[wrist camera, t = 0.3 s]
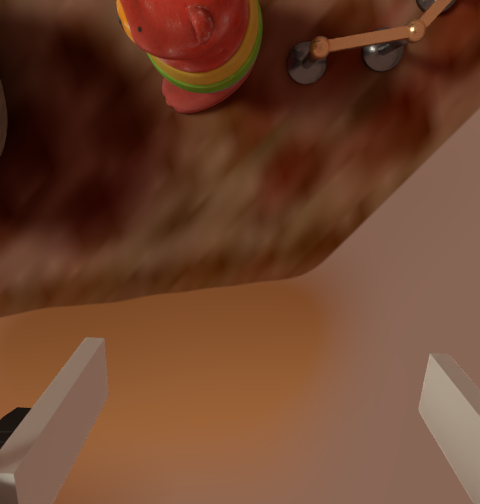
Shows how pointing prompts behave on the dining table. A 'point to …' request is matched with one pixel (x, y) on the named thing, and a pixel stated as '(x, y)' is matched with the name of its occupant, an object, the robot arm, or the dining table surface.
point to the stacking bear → (196, 46)
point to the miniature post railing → (363, 45)
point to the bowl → (2, 119)
